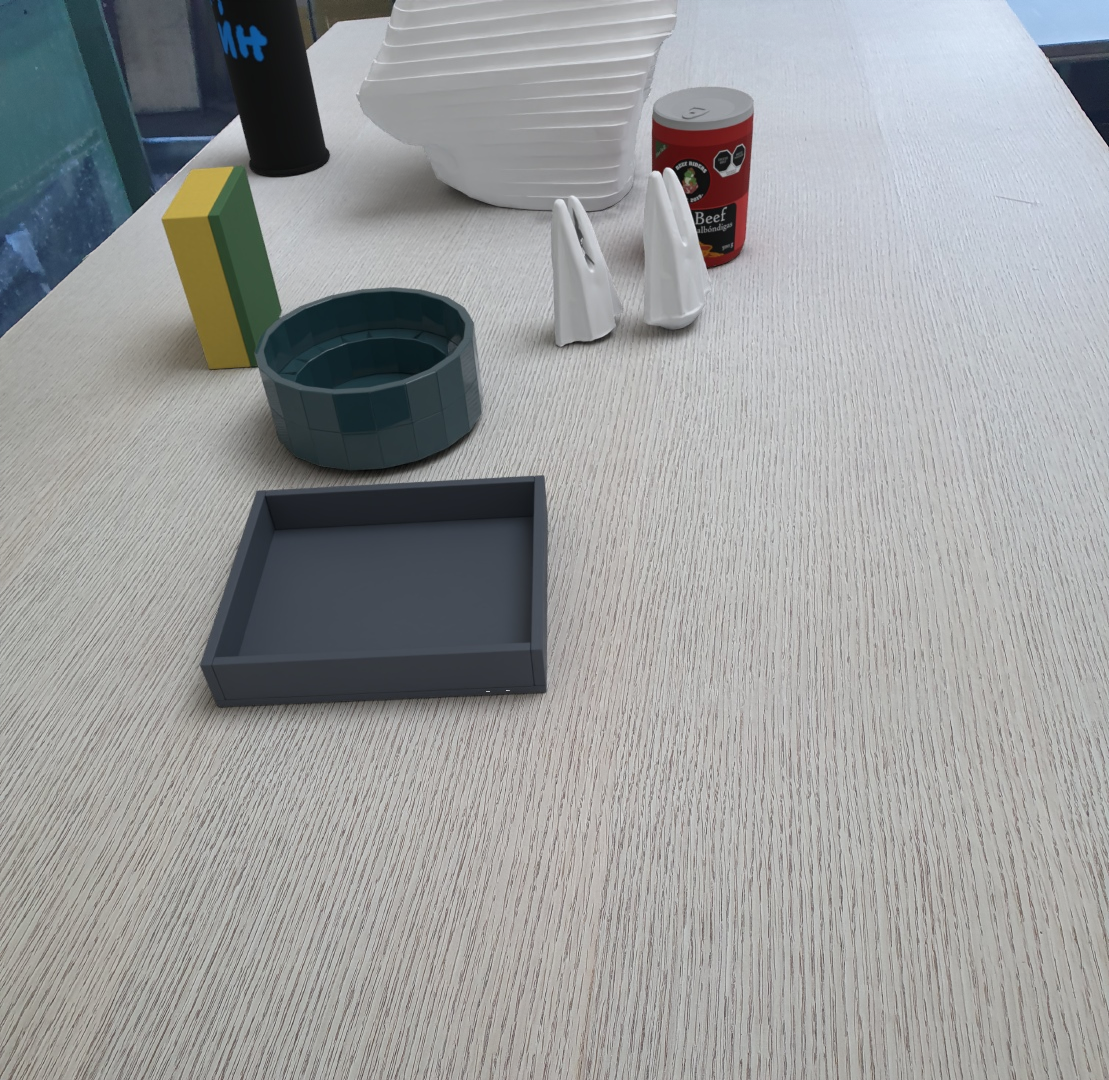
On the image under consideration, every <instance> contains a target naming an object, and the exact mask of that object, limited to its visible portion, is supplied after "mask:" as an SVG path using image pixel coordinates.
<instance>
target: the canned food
mask: <svg viewBox="0 0 1109 1080" xmlns="http://www.w3.org/2000/svg"><path fill="white" fill-rule="evenodd" d="M754 115H755V107H754V98H753V97H752V96H751V95H750V94H748V93H747V92H745V91H742V90H740V89H736V88H731V87H723V86H698V87H697V86H696V87H689V88H682V89H680V90H675V91H673V92H670V93H667V94H665V95H663V96H661V97H659V98H657V100H656V101H655V102H654V103H653V105H652V115H651V172H653V171H659V172H660V173H661V175H662V178H663V172H664V169H665V168H671V169H672V170H673V171H674V172H675V174H676V176H677V177H678V180H679V182H680V184H681V186H682V188H683V190H684V193H685V196H686V198H687V201H688V204H689V208H690V211H691V214H692V217H693V221H694V224H695V227H696V231H697V236H698V240H699V245H700V248H701V251H702V255H703V258H704V262H705V264H706V268H712V267H717V266H721V265H724V264H727V263H728V262H730V261H732V260H733V259H735V258H737V257H738V256H739V254H741V252H742V250H743V247H744V245H745V242H746V237H747V222H748V221H747V220H748V210H749V209H748V208H749V206H748V205H749V194H750V193H749V192H750V181H751V180H750V179H751V165H752V164H751V163H752V149H753V136H754Z"/></svg>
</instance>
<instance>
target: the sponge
mask: <svg viewBox="0 0 1109 1080" xmlns="http://www.w3.org/2000/svg"><path fill="white" fill-rule="evenodd" d="M250 185H251V184H250V182H249V177H248V174H247V169H246V166H245V165H235V166H219V167H208V168H207V167H206V168H193V169H191V170H190V171H189V173H188V174H187V176H186V178H185V179H184V180H183V182H182V184H181V186H180V187H179V189H178V191H176V192H177V193H176V194H175V195H174V198H173V199H172V201H171V202H170V203H169V205H168V207H167V209H166V210H165V212H164V214H163V215H162V217H161V222H162V226H163V229H164V232H165V235H166V238H167V241H168V244H169V248H170V251H171V254H172V256H173V260H174V263H175V266H176V269H177V272H178V273H177V274H178V275H179V279H180V282H181V284H182V285H181V286H182V289H183V291H184V294H185V297H186V300H187V303H188V306H189V310H190V313H191V316H192V319H193V322H194V325H195V329H196V332H197V335H198V338H199V341H200V344H201V347H202V350H203V353H204V357H205V361H206V363H207V367H208V369H210V370H220V369H221V370H222V369H237V368H251V367H252V368H255V367H258V364H257V361H256V357H255V353H254V352H255V349H256V346H257V344H258V341H259V339H260V336H261V335H262V334H263V333H264V332H265V331H266V330H267V329H268V328H269V327H270V326H271V325H272V324H273V323H274V322H275V321H276V320H277V319H279V318H280V317H281V314H282V311H283V310H282V306H281V302H280V297H279V293H278V291H277V290H278V289H277V286H276V283H275V278H274V274H273V271H272V266H271V263H270V259H269V255H268V251H267V248H266V244H265V239H264V235H263V231H262V227H261V224H260V219H259V216H258V212H257V208H256V205H255V201H254V197H253V193H252V189H251V186H250Z"/></svg>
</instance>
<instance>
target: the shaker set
mask: <svg viewBox="0 0 1109 1080" xmlns="http://www.w3.org/2000/svg"><path fill="white" fill-rule="evenodd" d="M643 209H644V210H643V222H642V223H643V224H642V240H643V250H644V282H643V283H644V285H643V287H644V288H643V294H644V295H643V299H644V300H643V321H644V323H645V324H646V325H649V326H655V327H656V326H657V327H662V328H663V329H667V330H672V331H673V330H674V331H675V330H681V329H683V328H686V327H688V326H689V325H691V324H692V323H693V322H694V321H695V320H696V318H697V317H698V316H699V315H700V313H701V312H702V311H703V309H704V307H705V305H706V297H707V296H708V294H709V293H710V292H711V290H712V289H713V287H712V279H711V277H710V275H709V272H708V269H707V268H708V267H707V268H706V264H705V262H704V258H703V255H702V251H701V248H700V245H699V240H698V236H697V231H696V227H695V224H694V221H693V217H692V214H691V211H690V208H689V204H688V201H687V198H686V196H685V193H684V190H683V188H682V186H681V184H680V182H679V180H678V177H677V176H676V174H675V172H674V171H673V170H672V169H671V168H665V169H664V172H663V178H662V175H661V173H660V172H659V171H653V172H652V171H651V172H650V174H649V176H648V180H647V184H646V190H645V199H644V208H643ZM551 211H552V212H551V228H550V229H551V230H550V250H551V251H550V252H551V264H552V282H553V283H552V284H553V289H552V290H553V313H554V314H553V315H554V336H555V337H554V339H555V346H558V347H559V348H560V347H561V348H562V347H564V346H565V345H567V344H572V343H573V342H593V341H595V340H597V339H600V338H602V337H605V336H606V335H608V334H609V333H611V331H612V330H614V329H615V328H616V327H617V324H616V318H615V317H617V315H619V314H623V313H624V310H625V308H624V305H623V303H622V300H621V297H620V295H619V293H618V290H617V287H616V285H615V283H614V280H613V278H612V275H611V272H610V270H609V267H608V265H607V262H606V259H605V257H604V255H603V252H602V250H601V249H602V248H601V246H600V244H599V241H598V237H597V235H596V232H595V230H594V227H593V225H592V222H591V220H590V217H589V215H588V213H587V211H585V210H584V208H583V206H582V204H581V203H580V201H579V200H578V199H577V198H576V197H575V196H570V197H569V198H568V209H567V206H566V204H565V202H564V200H562V199H557V200H556V201H555V202H554V204H553V210H551ZM584 253H585V254H584Z"/></svg>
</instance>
